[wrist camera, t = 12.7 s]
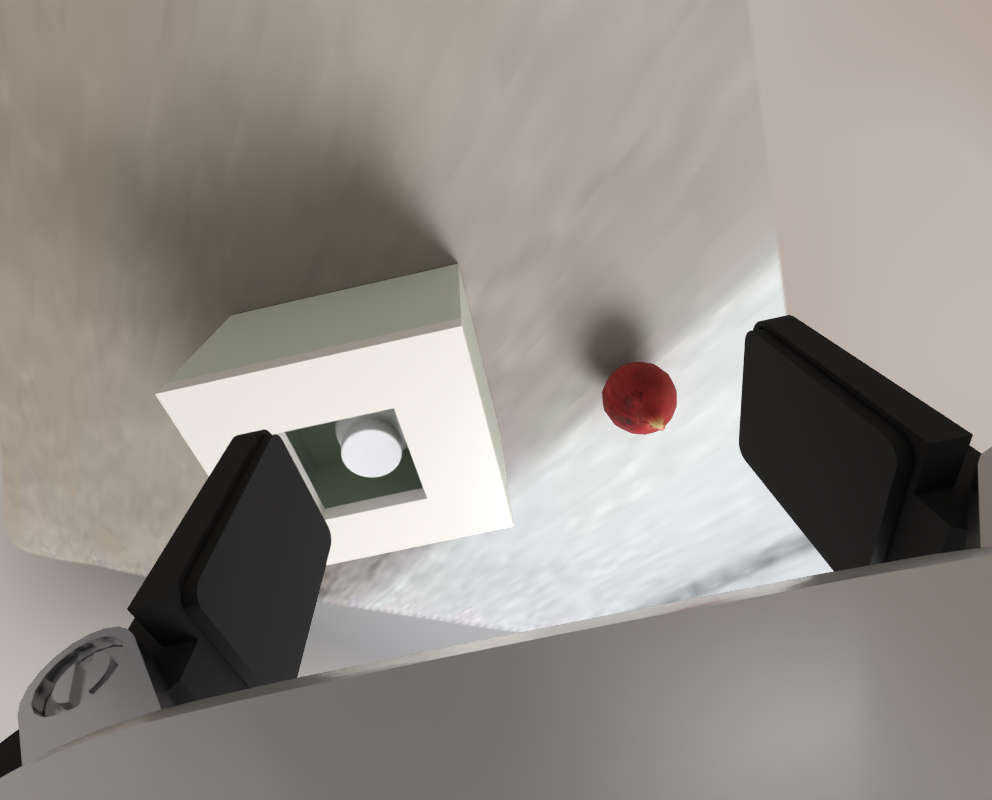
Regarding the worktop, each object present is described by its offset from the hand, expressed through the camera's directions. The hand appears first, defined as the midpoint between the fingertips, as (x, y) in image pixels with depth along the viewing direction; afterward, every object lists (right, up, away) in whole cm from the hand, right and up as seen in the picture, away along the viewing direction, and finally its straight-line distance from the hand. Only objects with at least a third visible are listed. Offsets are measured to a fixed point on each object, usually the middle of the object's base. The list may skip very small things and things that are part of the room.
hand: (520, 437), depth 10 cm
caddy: (-11, +3, +33) cm, 35 cm away
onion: (+11, +3, +35) cm, 37 cm away
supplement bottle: (-10, +2, +32) cm, 34 cm away
